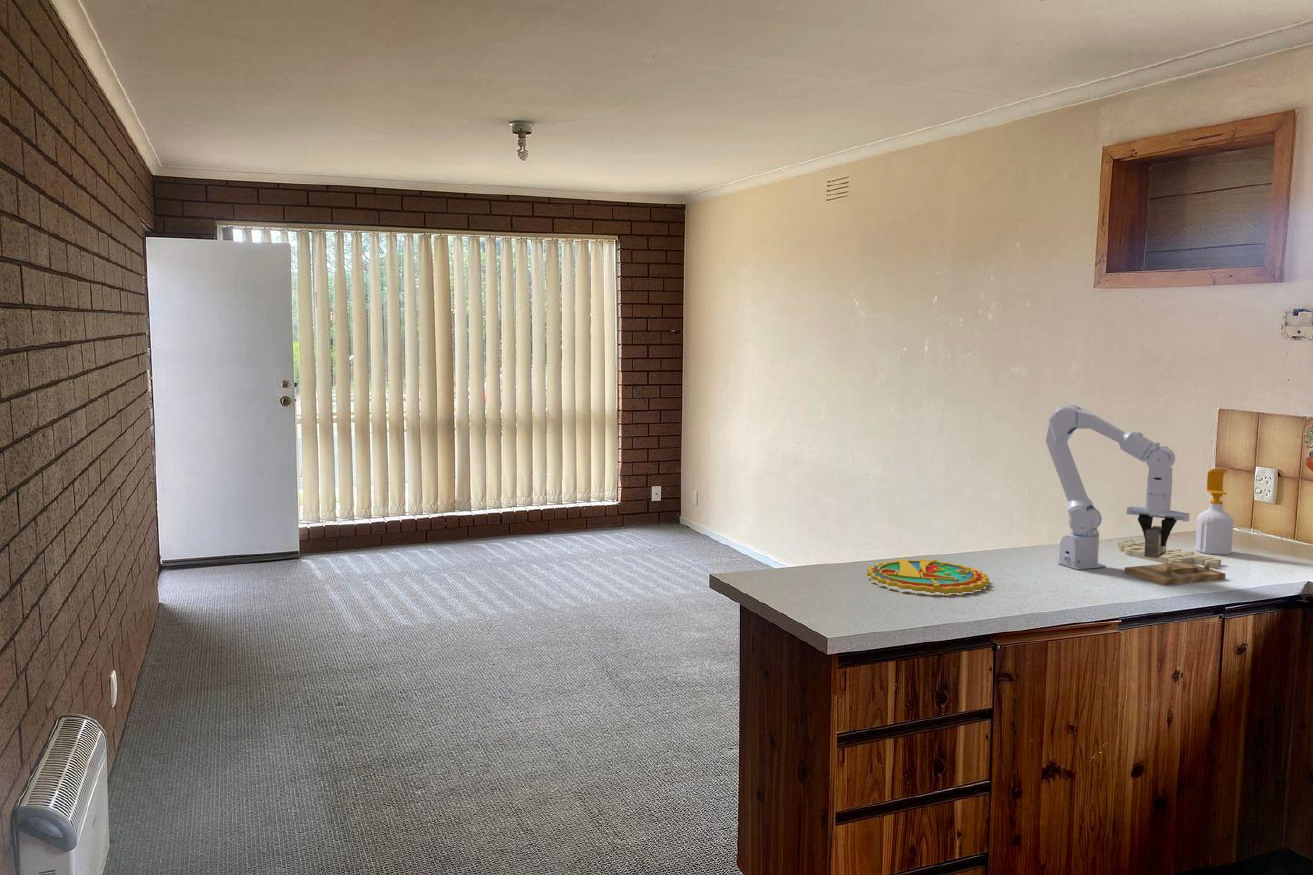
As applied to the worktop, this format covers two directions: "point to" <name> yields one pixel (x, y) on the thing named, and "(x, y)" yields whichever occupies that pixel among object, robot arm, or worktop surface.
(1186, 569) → the board
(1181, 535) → the worktop surface
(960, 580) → the decorative plaque
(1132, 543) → the decorative sign
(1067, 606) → the worktop surface
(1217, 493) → the soap bottle
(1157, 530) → the metal block
